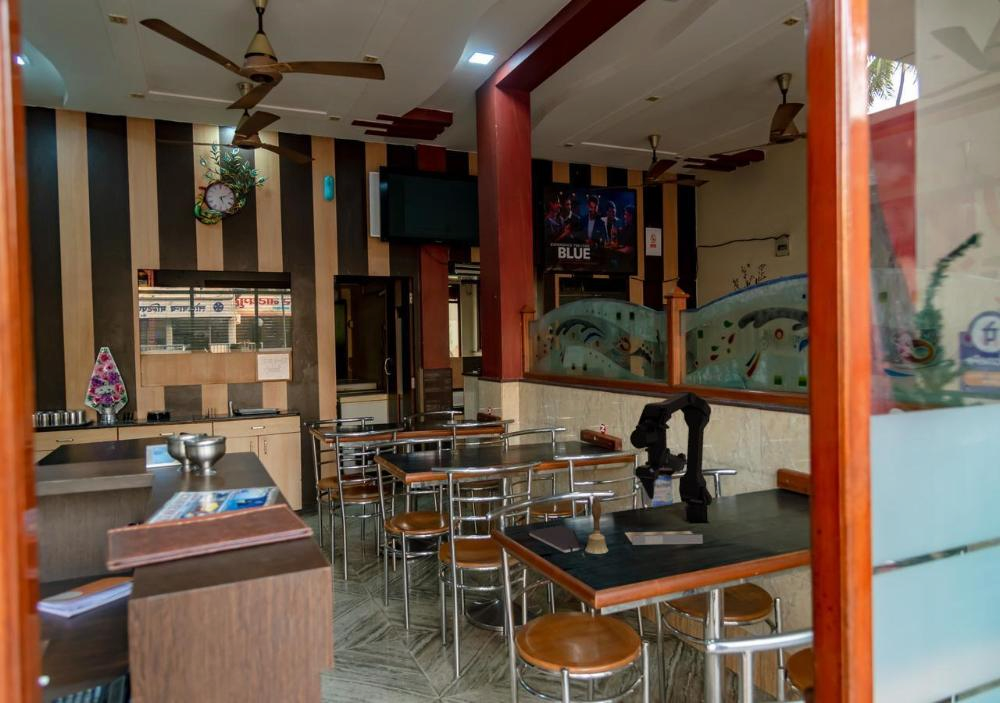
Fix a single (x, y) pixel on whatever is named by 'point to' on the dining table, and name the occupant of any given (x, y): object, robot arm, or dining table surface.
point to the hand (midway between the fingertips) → (658, 495)
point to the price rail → (667, 539)
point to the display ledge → (655, 534)
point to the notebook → (558, 538)
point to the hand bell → (596, 532)
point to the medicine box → (660, 492)
